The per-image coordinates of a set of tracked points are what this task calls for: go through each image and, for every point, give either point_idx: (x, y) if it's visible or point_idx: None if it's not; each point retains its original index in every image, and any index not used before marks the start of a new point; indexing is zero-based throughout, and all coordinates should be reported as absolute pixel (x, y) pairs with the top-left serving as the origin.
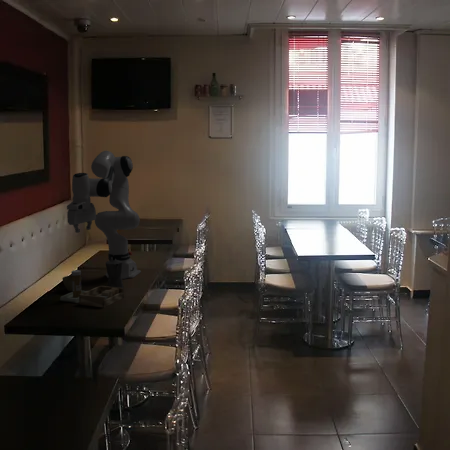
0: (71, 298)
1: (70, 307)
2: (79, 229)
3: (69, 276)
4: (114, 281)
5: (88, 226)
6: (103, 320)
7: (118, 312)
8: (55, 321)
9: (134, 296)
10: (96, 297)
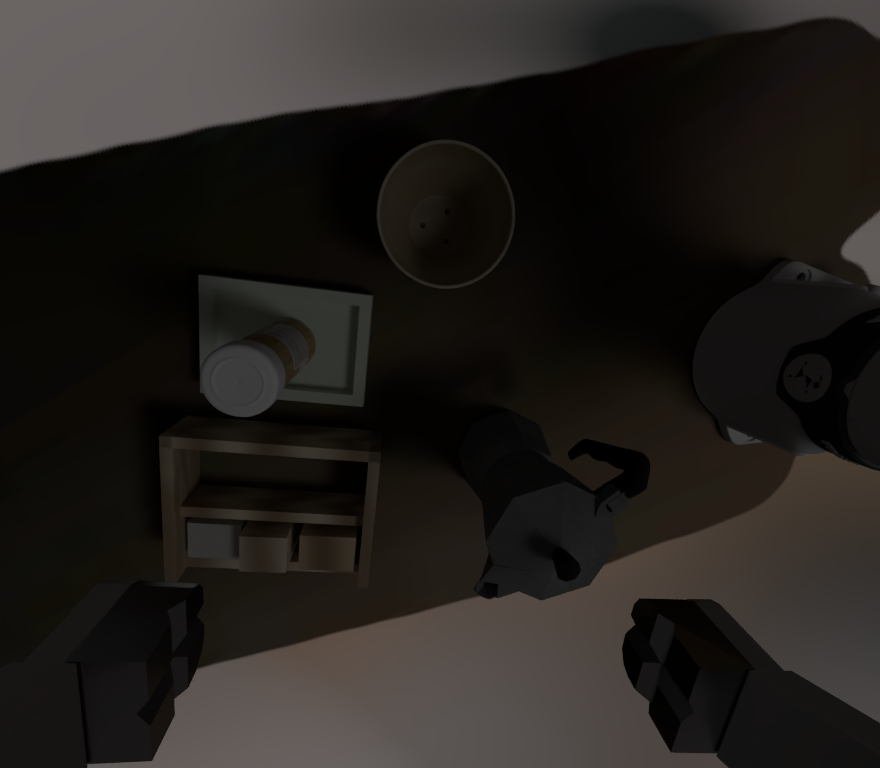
0: (200, 356)
1: (125, 394)
2: (137, 745)
3: (491, 167)
4: (479, 491)
5: (697, 728)
6: (22, 627)
7: None
8: None
9: (401, 588)
10: (165, 540)
